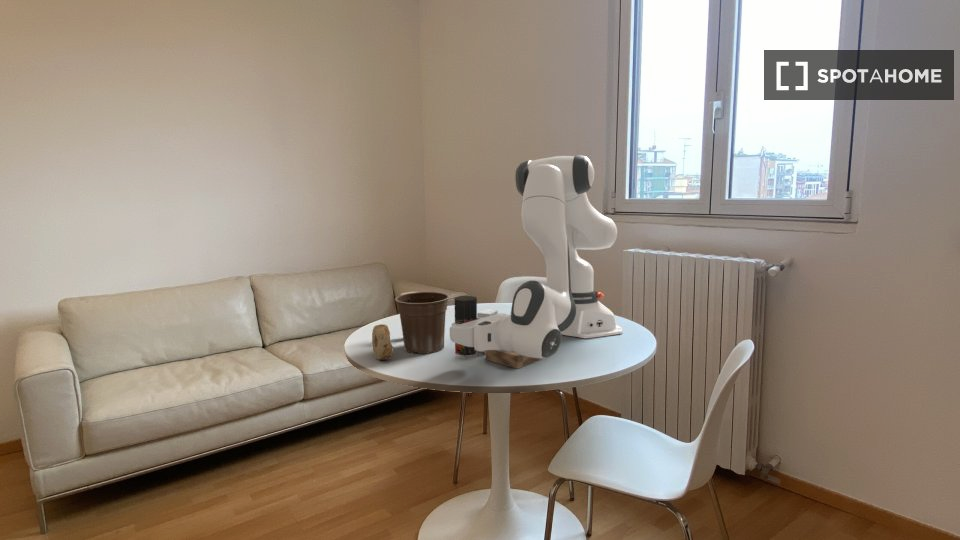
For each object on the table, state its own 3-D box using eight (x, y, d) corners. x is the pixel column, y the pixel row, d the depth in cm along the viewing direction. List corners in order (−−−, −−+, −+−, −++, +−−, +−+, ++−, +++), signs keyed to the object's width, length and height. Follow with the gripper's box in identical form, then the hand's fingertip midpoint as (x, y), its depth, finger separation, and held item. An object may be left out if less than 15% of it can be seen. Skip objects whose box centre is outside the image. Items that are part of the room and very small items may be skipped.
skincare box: (489, 353, 161) (489, 314, 159) (477, 351, 163) (476, 312, 161) (498, 348, 166) (498, 309, 164) (486, 346, 168) (485, 308, 166)
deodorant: (480, 354, 145) (480, 299, 142) (459, 357, 143) (459, 301, 140) (472, 347, 150) (471, 295, 148) (452, 350, 148) (451, 296, 146)
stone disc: (370, 355, 161) (368, 322, 159) (382, 353, 163) (380, 320, 161) (381, 365, 152) (379, 330, 150) (394, 362, 154) (392, 328, 152)
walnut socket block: (544, 358, 156) (544, 346, 155) (517, 368, 147) (517, 356, 147) (512, 349, 164) (512, 338, 163) (485, 359, 155) (485, 347, 155)
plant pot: (413, 360, 156) (411, 305, 153) (387, 347, 169) (385, 296, 166) (460, 349, 165) (459, 297, 163) (432, 337, 178) (431, 289, 176)
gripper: (527, 312, 143) (489, 305, 153) (473, 327, 129) (435, 318, 138) (528, 335, 144) (490, 326, 154) (474, 353, 130) (435, 342, 139)
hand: (463, 323), depth 146 cm, fingers closed on deodorant, 6 cm apart
